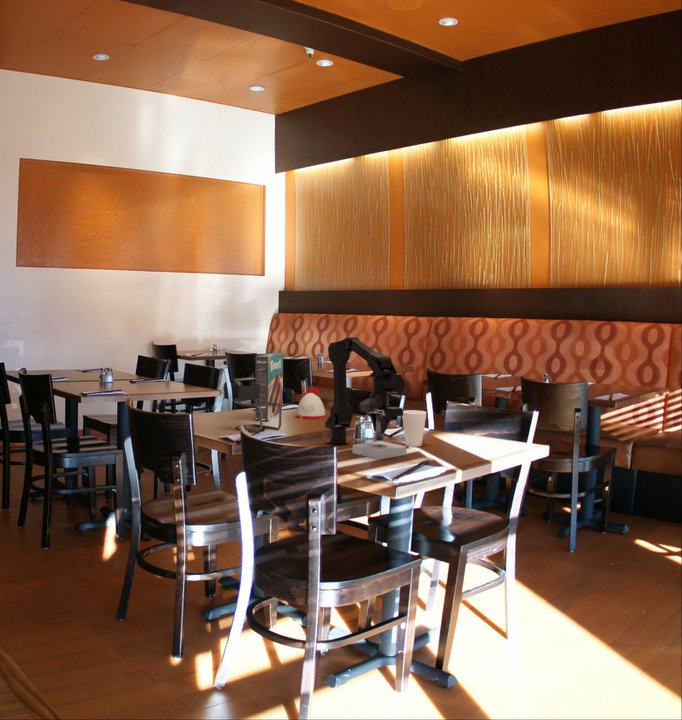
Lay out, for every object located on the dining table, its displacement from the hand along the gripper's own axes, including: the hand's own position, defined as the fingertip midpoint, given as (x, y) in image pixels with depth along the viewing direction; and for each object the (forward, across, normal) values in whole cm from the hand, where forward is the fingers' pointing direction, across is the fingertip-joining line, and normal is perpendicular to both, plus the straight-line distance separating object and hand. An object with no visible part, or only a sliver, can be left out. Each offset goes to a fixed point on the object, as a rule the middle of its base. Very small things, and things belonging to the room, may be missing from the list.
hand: (379, 432), depth 280 cm
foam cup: (+8, -5, +23) cm, 25 cm away
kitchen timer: (+8, -84, +34) cm, 91 cm away
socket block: (+8, 0, 0) cm, 8 cm away
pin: (+2, 0, 0) cm, 3 cm away
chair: (+8, -69, -7) cm, 70 cm away
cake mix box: (+8, -93, +16) cm, 95 cm away
